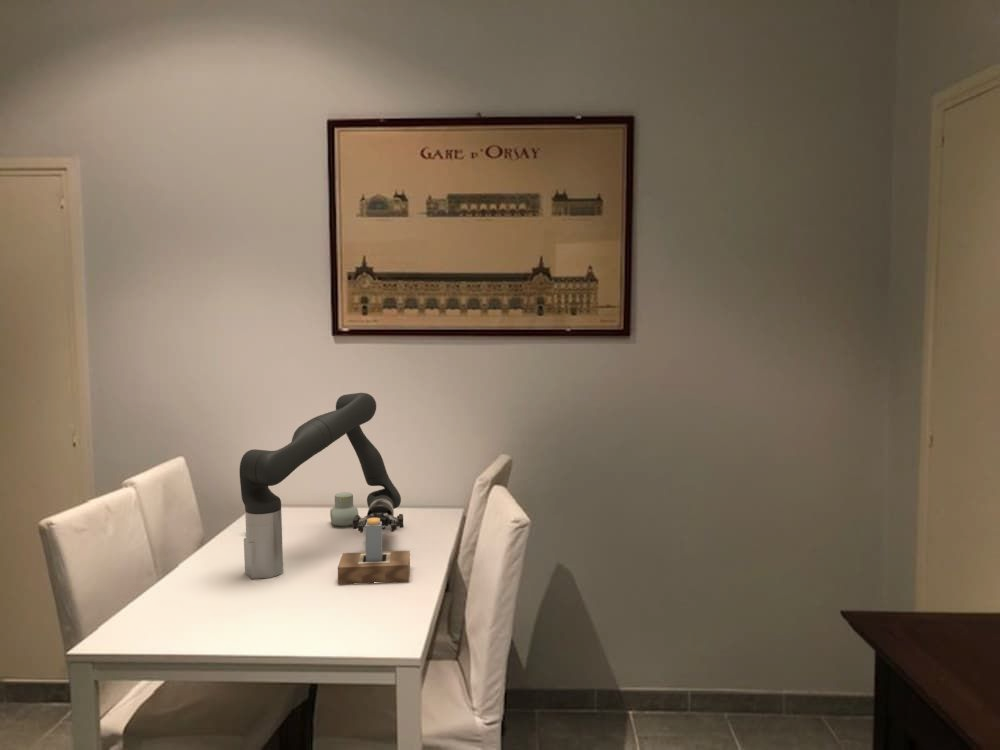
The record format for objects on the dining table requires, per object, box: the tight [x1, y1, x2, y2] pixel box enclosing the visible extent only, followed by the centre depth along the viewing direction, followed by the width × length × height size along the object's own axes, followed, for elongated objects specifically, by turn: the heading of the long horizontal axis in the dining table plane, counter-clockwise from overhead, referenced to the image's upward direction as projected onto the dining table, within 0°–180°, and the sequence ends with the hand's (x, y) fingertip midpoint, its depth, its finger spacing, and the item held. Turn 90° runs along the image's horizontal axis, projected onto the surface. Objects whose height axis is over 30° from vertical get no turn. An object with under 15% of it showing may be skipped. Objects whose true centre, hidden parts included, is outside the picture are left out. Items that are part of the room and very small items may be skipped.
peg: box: [364, 518, 384, 562], centre depth 211 cm, size 4×4×15 cm
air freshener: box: [329, 491, 359, 527], centre depth 261 cm, size 11×8×10 cm
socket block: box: [337, 550, 411, 585], centre depth 211 cm, size 18×12×5 cm, turn 95°
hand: (377, 528), depth 222 cm, fingers open, 8 cm apart
